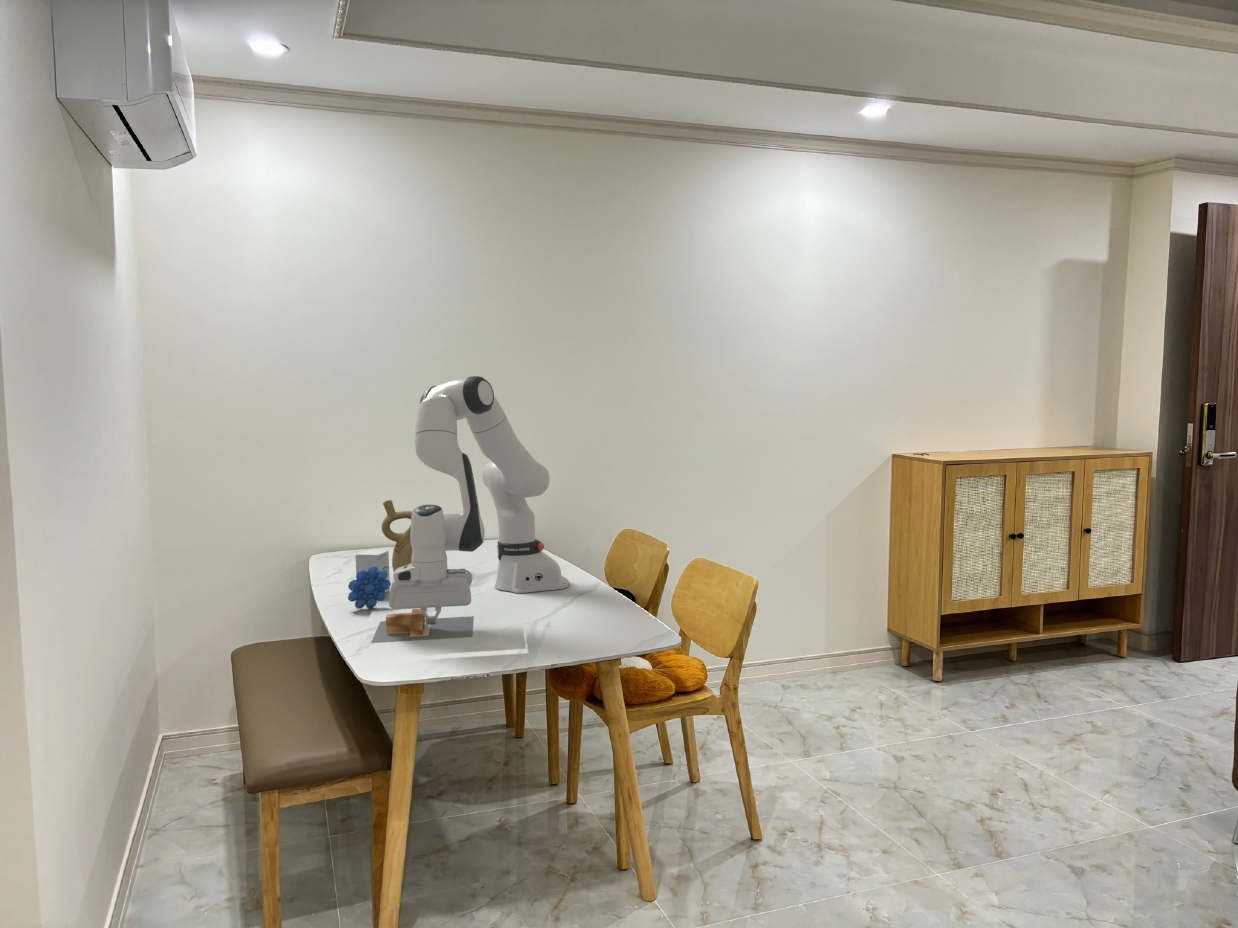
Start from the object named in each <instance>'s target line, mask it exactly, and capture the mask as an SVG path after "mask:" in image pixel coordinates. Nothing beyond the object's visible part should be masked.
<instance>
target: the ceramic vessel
mask: <svg viewBox="0 0 1238 928" xmlns="http://www.w3.org/2000/svg"><path fill="white" fill-rule="evenodd" d="M382 505H383V507H384V510H385V511H386V515H387V516H385V517H384V519H383V520H382V523H381V531H382V534H383V535H384V536H385V538H386V539H388V540H390V541H392V542H395V545H394V548H393V551H392V557H391V558H392V559H391V565H392V572H394V571H395V570H396V569H397V568H399V567H402V566H405V565H408V564H411V557H412V546H411V544H410V541H409V527H408V528H407V529H406V530H405V531H404V532H402V533H400V532H395V531H393V530H392V529H391V524H392V523H393V522H394V521H397V520H400V519H402V520H403V519H408V520H411V516H412V511H413V510H401V511H396V510H395V506H394V503H393V500H392V499H388V500H385V501H384V502H382Z"/></svg>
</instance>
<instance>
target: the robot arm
mask: <svg viewBox="0 0 1238 928" xmlns="http://www.w3.org/2000/svg"><path fill="white" fill-rule="evenodd" d="M419 402H420V403H419V407H418V411H417V416H416V422H415V434H414V435H415V436H414V445H415V453H416V456H417V457H418V460H419V461H420V462H421V463H423V464H424V465H425V466H426V467H428V468H430V469H433V470H435V471H437V472H440V473H443V474H446V475H448V476H450V477H452V478H454V479H455V480H456V481H457V482H458V486H459V490H460V491H459V492H460V497H461V502H462V509H463V510H462V512H459V513H444V511H443V508H442V507H441V506H440V505H437V504H423V505H420V506H419V505H418V506H416V507H415V508H413V510H411V511H412V516H411V519H410V525H409V527H408V528H409V541H410V544H411V546H412V557H411V564H408V565H405V566H402V567H399V568H397V569H396V570H395V571H393V576H392V577H393V581H392V583H391V585H390V591H389V597H388V601H389V602H388V605H389V607H390V608H391V610H408V609H411V610H412V609H421V613H422V614H423V616H424V617H425V619H426V625H433V624H437V618H439V616H440V613H441V611H442V608H447V607H448V608H449V607H463V606H464V607H465V606H469V605H470V604H471V603H472V592H471V591H472V590H471V584H472V583H473V576H472V573H471V571H469V570H467V569H466V568H458V569H457V568H456V569H455V568H451V569H450V568H449V569H448V554H447V552H448V551H459V552H469V553H473V552H474V551H476V550H477V549H478V548H479V547H481V546H482V545H483V543H484V540H485V535H486V531H485V526H484V522H483V519H482V516H481V513H480V506H479V500H478V495H477V489H476V488H477V487H476V483H475V478H474V473H473V468H472V464H471V460H470V458H469V456H468V455H467V454H466V453H465V452H463V451H462V450H461V448H460V446H459V442H458V422H457V421H460V420H463V419H466V423H467V425H468V427H469V430H470V432H471V433H472V435H473V438H474V439H475V441H476V443H477V445H478V447H479V450H480V451H481V453H482V455H484V456H485V457H486V458H487V459H488V460H490V461H488V462H487V463H486V465H484V467H483V470H482V474H481V476H482V477H481V478H482V481H483V482H482V483H484V485H485V486H486V488H487V489H488V490H489V493H490V495H491V497H492V500H493V502H494V503H493V504H494V507H495V511H496V514H497V515H496V516H497V526H498V540H497V547H496V549H497V551H496V553H497V558H498V567H497V575H496V576H497V577H496V580H495V584H494V588H495V589H498V590H500V591H505V592H512V593H515V594H524V593H534V592H535V593H536V592H543V591H545V592H546V591H554V590H563V589H567V588H568V587H569V583H570V582H569V579H568V578H567V577H566V576H563V574H562V571H561V567H560V564H559V562H557V561H556V560H555V559H553V558H552V557H550V556H549V555H548V554H546V553H545V552H544V551H543V550H544V549H545V544H544V543H543V542H542V541H541V540H538V539H536V519H535V518H536V516H535V513H534V511H533V510H532V509H531V507H530V506H529V503H528V502H527V499H526V498H536V497H539V496H542V495H543V494H544V493H545V492H546V491H547V490H548V488H549V485H550V478H551V477H550V473H549V471H548V469H547V468H546V466H544V465H543V464H541V463H540V462H539V461H537V459H535V458H534V457H533V456H532V455H531V453H530V452H529V451H528V450H527V448H526V447H525V446H524V444H522V443H521V441H520V439H518V437H517V435H516V433H515V431H514V429H513V427H512V426H511V423H510V421H509V418H508V417H507V415H506V413H505V411H504V409H503V408H502V406H501V404H500V402H499V401H498V399H497V398H496V397H495V394H494V389H493V386H492V385H491V384H490V382H489V381H488V380H487V379H485V378H484V377H482V376H480V375H479V376H477V375H473V376H468V377H464V378H463V377H462V378H455V379H452V380H449V381H446V382H443V383H441V384H438V385H432V386H431V387H428V388H427V389H425V390H424V391H423V392H422V394H421V397H420V401H419ZM429 608H430V609H431V608H434V611H435V612H436V613H435V614H434V615H433V616H432V615H430V616H429V614H428V613H427V611H428V609H429Z"/></svg>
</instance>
